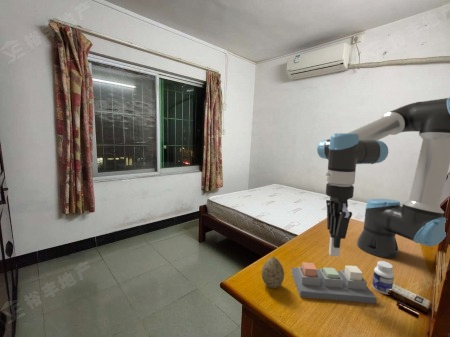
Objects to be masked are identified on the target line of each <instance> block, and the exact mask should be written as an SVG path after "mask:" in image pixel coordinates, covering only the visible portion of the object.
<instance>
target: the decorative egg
mask: <svg viewBox="0 0 450 337" xmlns="http://www.w3.org/2000/svg"><path fill="white" fill-rule="evenodd" d="M261 279H262V281H263V283H264V284H265V286H267V287H269V288H271V289H276V288H279V287H280V286H281V285H282V284H283V282H284V280H285V269H284V268H283V265H282V263H281V262H280V261H279V259H278V258H277V257H275V256H272V257H270V258H268V259H266V261H265V262H264V264H263V265H262V269H261Z"/></svg>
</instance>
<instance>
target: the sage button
mask: <svg viewBox="0 0 450 337" xmlns="http://www.w3.org/2000/svg"><path fill="white" fill-rule="evenodd" d="M322 269H323V273H324V275H325V277H326V278H334V279H339V274H338V273H337V271H338V270H337V269H336V268H334V267H323V268H322Z"/></svg>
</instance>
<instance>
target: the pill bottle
mask: <svg viewBox="0 0 450 337" xmlns="http://www.w3.org/2000/svg"><path fill="white" fill-rule="evenodd" d="M393 269H394V267H393V265H392V264H391V263H390V262H387V261H384V260H378V261H377V264H376V266H375V267H374V269H373V273H372V274H373V275H372V276H373V277H372V283H371V287H372V288H373V289H374V290H375V291H376V292H378V293H380V294H383V295H389V294H388V292H389V289H392V290H393V285H394V279H395V274H394V272H393Z"/></svg>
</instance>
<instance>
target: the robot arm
mask: <svg viewBox="0 0 450 337" xmlns="http://www.w3.org/2000/svg"><path fill="white" fill-rule="evenodd" d="M406 132H412V133H413V132H418V136H419V137H420V138H421V139H422V143H421V145H420V146H421V148H420V150H419V151H420V152H419V155H418V159H417V164H416V168H415V172H414V177H413V179H412V180H413V181H412V185H411V189H410V194H409V198H408V200H406V201H405V202H403V203H402V204H401V202H400V201H399V200H396V199H387V198H370V199H368V200H367V202H366V206H365V213H364V223H363V229H362V231H361V232H360V235H359V236H358V238H357V241H356V245H357V247H358V248H359V249H361V250H362V251H364V252H366V253H368V254H370V255H373V256H376V257H381V258H385V259H387V258H388V259H391V258H392V259H394V258H397V257H398V256H399V246H398V242H397V239H396V235H398V236H400V237H402V238H405V239H408V240H410V241H411V242H414V243H415V244H420V245H422V246H426V247H434V246H437V245H439V244H440V243H441V242H443V240H445V239H446V237H447V235H446V232H445V223H446V219H447V218H446V217H444V215H445V211H444V210H443V209H442V208H441V202H442V199H443V198H442V197H443V194H444V189H445V186H446V181H447V177H448V173H449V170H450V96H448V97H445V98H439V99H431V100H424V101H416V102H412V103H408V104H406V105H402V106H400V107H398V108H396V109H393V110H391V111H389V112H385V113H384V114H383V115H382V116H381V118H379V119H377V120H374V121H372V122H369V123H368V124H365V125H363V126H360V127H358V128H356V129H354V130H352V131H349V132H347V133H343V132H342V133H338V132H337V133H333V134H331V136H330V138H329V139H323V140H320V142H319V143H318V145H317V147H316V148H317V149H316V152H317V155H318V156H319V157H320V158H321V159H326V160H327V161H328V162H327V163H328V164H327V172H326V173H325V176H326V182H327V183H326V186H325V195H326V196H328V197H329V199H326V201H325V203H326V225H327V226H326V227H327V230H328V231H329V234H330V235H329V246H328V247H329V248H328V255H329V256H330V257H340V251H341V241H342V240H345V239H346V237H347V233H348V232H347V231H348V228H349V223H350V220H351V218H352V216H353V212H352V211H349V210H348V207H349V202H348V200H349V199H352V198H354V190H355V187H354V185H355V182H356V181H355V180H356V168H357V165H368V164H369V165H375V164H378V163H382V162H384V161H385V160H386V159H387V158H388V155H389V147H388V145H387V144H386V143H385V142H384V141H382V140H381V139H384V138H386V137H389V136H392V135H393V136H394V135H395V136H396V135H398V134H400V133H406Z"/></svg>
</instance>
